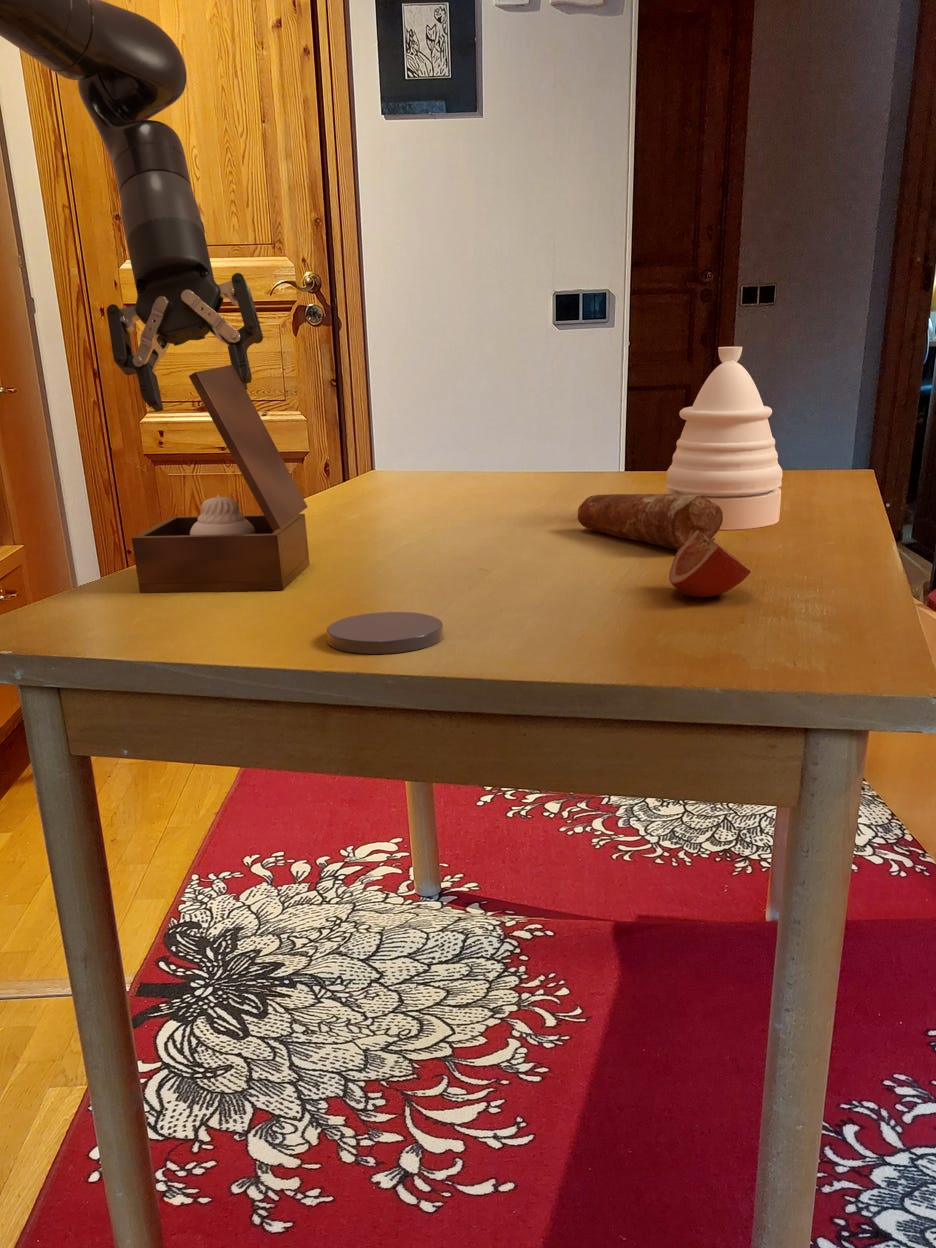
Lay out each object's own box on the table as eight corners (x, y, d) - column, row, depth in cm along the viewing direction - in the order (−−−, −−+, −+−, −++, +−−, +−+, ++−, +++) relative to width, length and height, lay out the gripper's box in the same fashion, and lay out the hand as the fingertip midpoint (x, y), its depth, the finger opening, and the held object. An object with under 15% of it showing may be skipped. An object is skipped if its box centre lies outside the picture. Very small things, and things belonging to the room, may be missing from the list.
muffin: (272, 567, 113) (264, 492, 110) (223, 578, 109) (214, 501, 106) (230, 560, 117) (221, 488, 114) (181, 572, 113) (170, 496, 110)
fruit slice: (660, 585, 104) (662, 528, 102) (735, 583, 104) (738, 525, 102) (677, 608, 97) (680, 547, 94) (758, 605, 97) (763, 543, 95)
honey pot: (665, 510, 140) (671, 347, 132) (775, 509, 138) (787, 343, 130) (663, 530, 129) (669, 352, 121) (783, 529, 127) (797, 348, 119)
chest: (139, 592, 109) (131, 537, 107) (178, 566, 119) (171, 516, 117) (283, 590, 108) (277, 535, 105) (309, 564, 118) (305, 513, 116)
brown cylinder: (678, 557, 115) (680, 499, 112) (568, 531, 130) (567, 479, 127) (727, 549, 118) (730, 492, 115) (614, 524, 133) (614, 473, 130)
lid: (188, 375, 100) (195, 371, 100) (225, 368, 111) (232, 364, 110) (273, 531, 105) (280, 528, 105) (301, 510, 116) (308, 507, 116)
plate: (316, 655, 87) (315, 641, 87) (339, 624, 95) (338, 612, 95) (436, 653, 87) (435, 640, 86) (449, 623, 95) (448, 610, 94)
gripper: (79, 234, 110) (114, 399, 109) (225, 197, 109) (261, 362, 109) (110, 276, 118) (142, 430, 117) (246, 241, 117) (280, 396, 116)
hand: (199, 397), depth 113 cm, fingers open, 8 cm apart
